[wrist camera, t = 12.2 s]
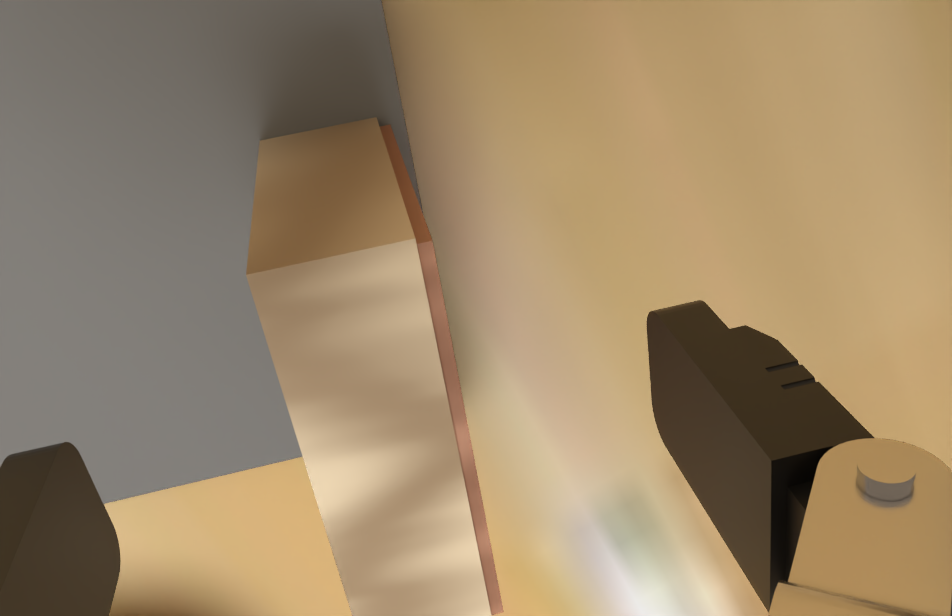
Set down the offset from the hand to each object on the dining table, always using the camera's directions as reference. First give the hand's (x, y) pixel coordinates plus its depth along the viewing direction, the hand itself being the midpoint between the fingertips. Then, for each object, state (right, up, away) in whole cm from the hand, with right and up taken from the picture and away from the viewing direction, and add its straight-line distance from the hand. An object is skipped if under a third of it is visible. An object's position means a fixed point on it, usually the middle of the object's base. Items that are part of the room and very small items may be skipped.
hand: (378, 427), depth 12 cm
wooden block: (-2, +4, +7) cm, 8 cm away
